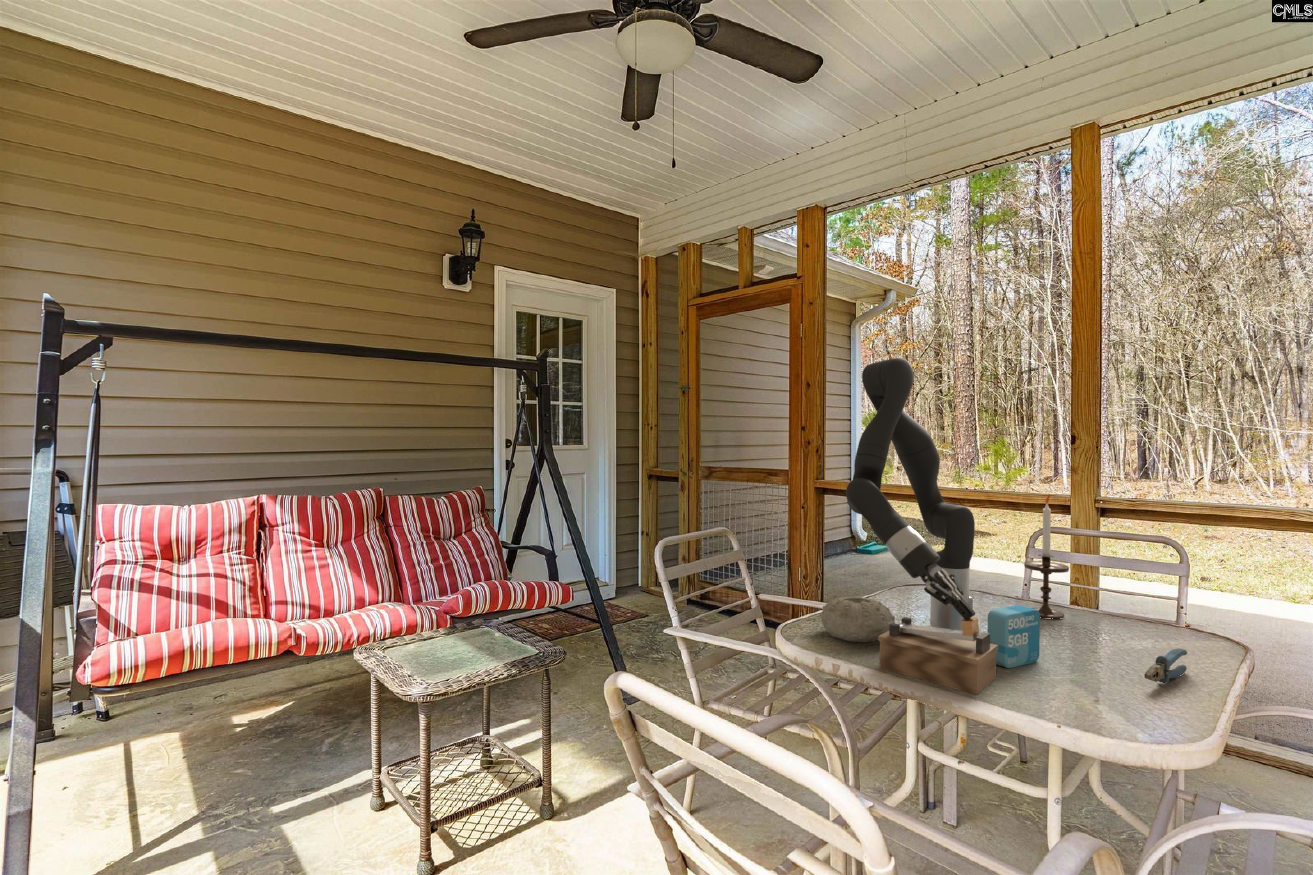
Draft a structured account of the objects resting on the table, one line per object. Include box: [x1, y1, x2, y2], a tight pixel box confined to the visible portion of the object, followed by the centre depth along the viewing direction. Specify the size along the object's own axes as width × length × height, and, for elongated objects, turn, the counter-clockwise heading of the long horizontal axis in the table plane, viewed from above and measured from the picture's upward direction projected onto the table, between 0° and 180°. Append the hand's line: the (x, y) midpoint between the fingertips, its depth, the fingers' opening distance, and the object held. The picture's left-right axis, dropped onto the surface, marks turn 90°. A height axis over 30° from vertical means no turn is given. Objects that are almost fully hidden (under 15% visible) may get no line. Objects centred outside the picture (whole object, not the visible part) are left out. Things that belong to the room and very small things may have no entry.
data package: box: [986, 604, 1041, 669], centre depth 143 cm, size 12×4×12 cm, turn 116°
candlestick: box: [1023, 493, 1070, 619], centre depth 180 cm, size 11×11×35 cm
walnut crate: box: [877, 616, 998, 695], centre depth 136 cm, size 21×13×10 cm, turn 46°
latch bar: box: [900, 616, 980, 641], centre depth 137 cm, size 17×4×4 cm, turn 46°
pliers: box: [1144, 648, 1188, 684], centre depth 132 cm, size 20×2×6 cm, turn 124°
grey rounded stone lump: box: [820, 595, 896, 643], centre depth 159 cm, size 18×18×10 cm
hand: (971, 617), depth 131 cm, fingers closed
